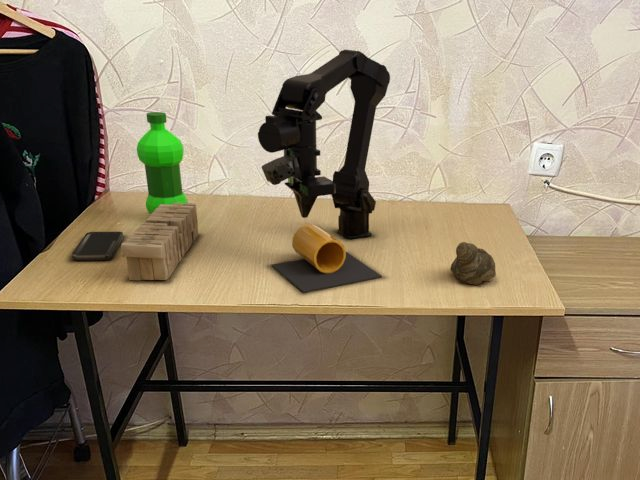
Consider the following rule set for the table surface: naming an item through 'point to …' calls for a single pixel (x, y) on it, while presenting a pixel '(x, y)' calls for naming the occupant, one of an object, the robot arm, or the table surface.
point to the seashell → (473, 264)
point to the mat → (324, 274)
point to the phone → (98, 246)
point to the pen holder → (319, 248)
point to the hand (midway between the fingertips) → (304, 217)
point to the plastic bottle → (161, 163)
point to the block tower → (161, 241)
